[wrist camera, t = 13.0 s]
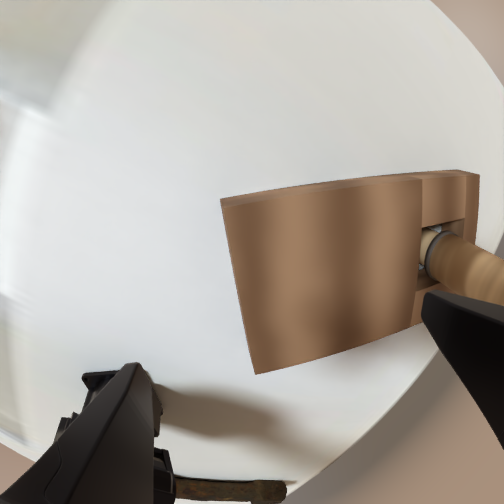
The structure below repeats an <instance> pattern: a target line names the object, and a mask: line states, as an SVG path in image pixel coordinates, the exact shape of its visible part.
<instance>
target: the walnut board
mask: <svg viewBox="0 0 504 504" xmlns="http://www.w3.org/2000/svg"><path fill="white" fill-rule="evenodd" d="M479 182H480V175H479V174H475V173H470V172H466V171H461V170H442V171H427V172H414V173H402V174H391V175H381V176H371V177H362V178H353V179H345V180H337V181H329V182H322V183H314V184H307V185H300V186H293V187H287V188H280V189H274V190H268V191H262V192H256V193H250V194H244V195H239V196H233V197H228V198H222V199H220V202H221V208H222V213H223V219H224V224H225V230H226V235H227V241H228V246H229V252H230V257H231V262H232V267H233V273H234V278H235V283H236V288H237V293H238V299H239V304H240V309H241V314H242V319H243V324H244V329H245V333H246V338H247V343H248V348H249V353H250V357H251V360H252V364H253V368H254V372H255V375H257V374H261V373H266V372H270V371H274V370H279V369H283V368H287V367H290V366H294V365H298V364H302V363H306V362H309V361H313V360H316V359H320V358H323V357H327V356H330V355H333V354H336V353H340V352H343V351H346V350H349V349H352V348H355V347H358V346H361V345H364V344H367V343H370V342H372V341H375V340H378V339H381V338H383V337H386V336H389V335H391V334H394V333H397V332H399V331H402V330H404V329H407V328H409V327H412V326H414V325H416V324H419V323H421V322H423V321H422V318H421V309H422V303H423V297H424V295H425V293H426V292H429V291H431V290H435V289H436V290H440V291H444V292H449V293H453V294H456V293H455V292H454V291H452V290H451V289H449V288H448V287H447V286H445V285H444V284H442V283H441V282H439V281H436V280H433V279H432V278H430V277H429V276H428V275H427V273H426V271H425V269H422V270H418V269H419V259H420V247H421V231H422V228H423V227H427V226H431V225H436V224H440V223H442V230H441V232H442V231H445V230H448V231H451V232H453V233H455V234H457V235H458V237H460V238H462V239H464V240H466V241H468V242H470V243H472V244H474V245H475V239H476V231H477V220H478V207H479ZM457 295H458V294H457Z"/></svg>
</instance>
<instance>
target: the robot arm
mask: <svg viewBox="0 0 504 504" xmlns="http://www.w3.org/2000/svg"><path fill="white" fill-rule="evenodd" d="M421 318H422V321H423V322H424V324H425V326H426V327H427V329H428V331H429V332H430V334H431V335H432V337H433V339H434V340H435V342H436V344H437V346H438V347H439V349H440V350H441V352H442V354H443V355H444V357H445V358H446V359H447V361H448V362H449V364H450V365H451V366H452V368H453V369H454V371H455V372H456V374H457V375H458V376H459V378H460V379H461V381H462V382H463V384H464V385H465V387H466V388H467V390H468V391H469V393H470V394H471V396H472V397H473V399H474V400H475V402H476V404H477V405H478V407H479V408H480V410H481V412H482V413H483V415H484V416H485V418H486V420H487V421H488V423H489V425H490V426H491V428H492V430H493V431H494V433H495V435H496V437H497V438H498V440H499V442H500V444H501V446H502V448H503V450H504V306H502V305H498V304H494V303H490V302H486V301H482V300H478V299H473V298H469V297H465V296H461V295H457V294H453V293H449V292H444V291H440V290H436V289H435V290H431V291H429V292H426V293H425V295H424V297H423V303H422V309H421ZM82 380H83V382H84V384H85V385H86V387H87V388H88V393H87V396H86V399H85V403H84V406H83V409H82V412H81V413H80V414H77V413H75V412H73V413H72V416H71V418H69V417H68V418H65V417H62V418H61V421H60V424H59V427H58V430H57V433H56V436H55V439H54V442H53V444H52V446H51V447H50V448H49V449H48V450H47V451H46V452H45V453H44V454H43V455H42V457H41V458H40V459H39V460H38V461H37V462H36V463H35V464H34V465H33V466H32V467H31V468H30V469H29V470H28V471H27V472H25V473H24V474H23V475H22V476H21V477H20V478H19V479H18V480H17V481H16V482H15V483H13V485H11V486H10V487H9V488H8V489H7V490H6V491H5V492H4V493H2V494H1V495H0V504H174V502H175V498H176V491H177V490H176V481H175V477H174V473H173V469H172V465H171V461H170V456H169V452H168V450H165V449H159V448H156V447H154V437H158V436H159V432H160V416H161V415H162V414H163V409H162V407H161V403H160V401H159V399H158V397H157V395H156V394H155V392H154V390H153V388H151V384H150V381H149V379H148V377H147V375H146V373H145V371H144V369H143V367H142V365H141V364H140V363H138V362H135V363H127V364H125V365H124V366H123V367H122V368H121V369H120V370H119V371H109V372H96V373H84V374H83V375H82Z"/></svg>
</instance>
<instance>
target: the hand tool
mask: <svg viewBox="0 0 504 504" xmlns="http://www.w3.org/2000/svg"><path fill="white" fill-rule="evenodd" d="M175 481H176V490H177V491H176V498H177V499H180V498H181V499H190V500H195V501H196V500H197V501H238V502H248V501H250V502H251V504H278V503H281V502H282V501H283V500H284V499H285V498H286V493H287V488H286V485H285V483H284V482H282V481H274V480H253V481H251V482H250V483H229V482H228V483H220V482H207V481H196V480H189V479H178V478H175Z"/></svg>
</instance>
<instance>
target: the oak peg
mask: <svg viewBox="0 0 504 504" xmlns="http://www.w3.org/2000/svg"><path fill="white" fill-rule="evenodd" d="M419 263H421V264H422V265H424V267H425V271H426V273H427V275H428V276H429V277H430V278H432V279H433V280H436V281H439V282H441V283H442V284H444V285H445V286H447V287H448V288H449V289H451V290H452V291H454V292H455V293H456V294H458V295H461V296H465V297H469V298H473V299H478V300H482V301H486V302H490V303H494V304H498V305H502V306H504V260H503V259H501V258H499V257H497V256H495V255H493V254H492V253H490V252H488V251H486V250H484V249H482V248H480V247H478V246H476V245H474V244H472V243H470V242H468V241H466V240H464V239H462V238H460V237H458V235H457V234H455V233H453V232H451V231H448V230H445V231H442V232H440V233H438V232H436V231H434V230H432V229H430V228H428V227H423V228H422V231H421V247H420V259H419Z"/></svg>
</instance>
